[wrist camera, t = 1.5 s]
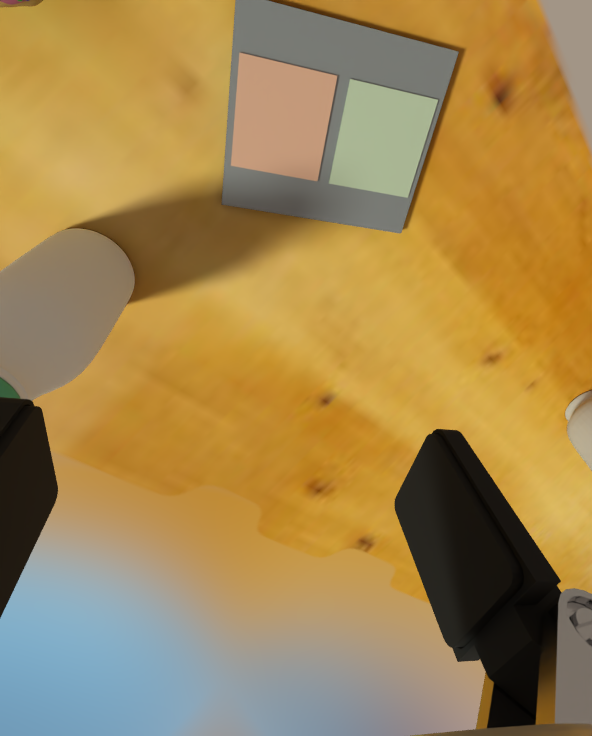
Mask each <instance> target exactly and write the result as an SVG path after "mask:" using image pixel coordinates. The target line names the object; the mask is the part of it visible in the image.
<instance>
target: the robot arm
mask: <svg viewBox="0 0 592 736" xmlns="http://www.w3.org/2000/svg"><path fill="white" fill-rule="evenodd" d="M57 493H58V486H57V481H56V476H55V471H54V466H53V462H52V457H51V451H50V447H49V442H48V437H47V432H46V427H45V422H44V417H43V412H42V409H41V408H40V407H37V406H34V404H33V402H32V401H31V400H29V399H19V398H5V397H0V617H1V615H2V613H3V611H4V609H5V607H6V605H7V603H8V601H9V598H10V596H11V594H12V592H13V590H14V588H15V586H16V584H17V582H18V580H19V577H20V575H21V573H22V571H23V569H24V567H25V565H26V563H27V561H28V559H29V556H30V554H31V552H32V550H33V548H34V546H35V544H36V542H37V540H38V537H39V536H40V533H41V531H42V529H43V527H44V525H45V523H46V521H47V518H48V517H49V514H50V512H51V510H52V508H53V506H54V504H55V501H56V498H57ZM395 511H396V514H397V517H398V519H399V522H400V525H401V527H402V530H403V532H404V535H405V538H406V540H407V543H408V546H409V548H410V551H411V554H412V556H413V559H414V561H415V564H416V567H417V569H418V572H419V575H420V577H421V580H422V583H423V585H424V588H425V590H426V593H427V596H428V598H429V601H430V604H431V606H432V609H433V612H434V614H435V617H436V620H437V622H438V624H439V627H440V630H441V632H442V635H443V638H444V640H445V642H446V643H447V645H448V646H450V647H452V648H453V651H454V653H455V656H456V658H457V661H458V662H461V661H475V660H479V659H480V660H481V662H482V664H483V667H484V669H485V671H486V673H485V679H484V685H483V690H482V697H481V702H480V707H479V713H478V719H477V725H476V729H475V730H465V731H454V732H445V733H433V734H424V735H413V736H592V594H590V593H588V592H586V591H583V590H579V589H575V588H574V589H566V590H565V591H564V592H562V593H561V591H560V590H559V588H558V587H557V584H558V583H560V582H561V580H560V579H559V577H558V576H557V574H556V573H555V572H554V570H553V569H552V567H551V566H550V564H549V563H548V561H547V560H546V558H545V557H544V555H543V554H542V552H541V551H540V549H539V548H538V546H537V545H536V543H535V542H534V540H533V539H532V537H531V536H530V534H529V533H528V531H527V530H526V528H525V527H524V525H523V524H522V522H521V521H520V520H519V518H518V517H517V515H516V514H515V512H514V511H513V509H512V508H511V506H510V505H509V503H508V502H507V500H506V499H505V497H504V496H503V494H502V493H501V491H500V490H499V488H498V487H497V485H496V484H495V482H494V481H493V479H492V478H491V476H490V475H489V473H488V472H487V471H486V469H485V468H484V466H483V465H482V463H481V462H480V460H479V459H478V457H477V456H476V454H475V453H474V451H473V450H472V448H471V447H470V445H469V444H468V442H467V441H466V439H465V438H464V436H463V435H462V434H461V433H460V432H459V431H457V430H444V429H436V430H434V431H433V433H432V434H429V435H428V436H427V437H426V439H425V441H424V443H423V445H422V447H421V449H420V451H419V453H418V455H417V457H416V459H415V461H414V463H413V465H412V466H411V468H410V470H409V472H408V474H407V476H406V478H405V480H404V482H403V484H402V486H401V488H400V490H399V492H398V494H397V496H396V498H395Z"/></svg>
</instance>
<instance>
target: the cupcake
mask: <svg viewBox="0 0 592 736" xmlns="http://www.w3.org/2000/svg"><path fill="white" fill-rule="evenodd" d="M42 1H43V0H0V7H17V6H35V5H38V4H39V3H40V2H42Z"/></svg>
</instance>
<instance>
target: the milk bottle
mask: <svg viewBox="0 0 592 736" xmlns="http://www.w3.org/2000/svg"><path fill="white" fill-rule="evenodd" d="M134 285H135V276H134V271H133V267H132V265H131V262H130V261H129V259H128V257H127V256H126V254H125V253H124V252H123V250H122V249H121V248H120V247H119V246H118V245H117V244H116V243H114V242H113V241H112V240H110V239H109V238H107V237H106V236H104V235H102V234H100V233H97V232H95V231H91V230H87V229H80V228H73V229H66V230H62V231H60V232H57V233H56V234H54V235H52V236H50V237H49V238H47V239H46V240H44V241H43V242H41V243H40V244H38V245H37V246H36V247H34V248H33V249H31V250H30V251H28V252H27V253H25V254H24V255H23V256H21V257H20V258H18V259H17V260H15V261H14V262H13V263H11V264H10V265H8V266H7V267H6V268H4V269H3V270H1V271H0V397H5V398H19V399H29V400H31V401H32V400H34V399H35V398H37V397H39V396H41V395H43V394H46V393H48V392H50V391H53V390H55V389H58V388H60V387H62V386H64V385H65V384H67V383H69V382H70V381H72V380H73V379H74V378H76V377H77V376H78V375H79V374H81V373H82V372H83V371H84V370H85V368H86V367H87V366H88V365H89V364H90V363H91V361H92V360H93V359H94V357H95V356H96V354H97V353H98V351H99V350H100V348H101V347H102V345H103V344H104V342H105V340H106V339H107V337H108V335H109V334H110V332H111V330H112V329H113V327H114V325H115V323H116V322H117V320H118V318H119V317H120V315H121V313H122V311H123V310H124V308H125V306H126V304H127V303H128V301H129V299H130V297H131V295H132V293H133V290H134Z"/></svg>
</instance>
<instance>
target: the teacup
mask: <svg viewBox="0 0 592 736" xmlns="http://www.w3.org/2000/svg"><path fill="white" fill-rule="evenodd" d="M565 417H566V419H567V420H568V421H569V422H568V425H567V433H568V437H569V439H570V441H571V443H572V445H573V446H574V448H575V449H576V450H577V452H578V453H579V454H580V456H581V457H582V458H583V460H584V461H585V462H586V464H587V465H588V466H589V468H590V469H591V471H592V391H588V392H585V393H583V394H581V395H579V396H578V397H577V398H575V399H574V400H573V401H572V402H571V403H570V404H569V406H568V407H567V409H566V412H565Z"/></svg>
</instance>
